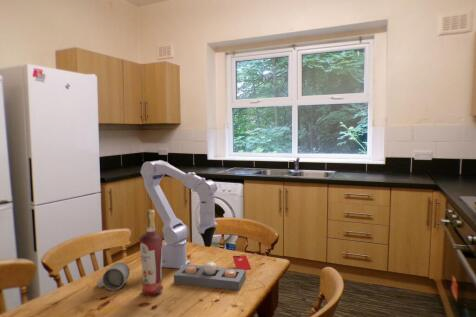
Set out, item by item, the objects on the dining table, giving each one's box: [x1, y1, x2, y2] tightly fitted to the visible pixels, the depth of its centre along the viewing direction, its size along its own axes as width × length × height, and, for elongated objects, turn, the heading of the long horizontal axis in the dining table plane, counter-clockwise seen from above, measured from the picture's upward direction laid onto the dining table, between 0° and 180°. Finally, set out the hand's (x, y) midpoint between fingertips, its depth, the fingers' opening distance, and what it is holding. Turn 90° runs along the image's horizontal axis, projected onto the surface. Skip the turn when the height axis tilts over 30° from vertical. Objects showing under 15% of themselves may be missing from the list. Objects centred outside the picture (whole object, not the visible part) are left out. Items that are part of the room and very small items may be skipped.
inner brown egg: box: [185, 266, 196, 274], centre depth 121 cm, size 4×4×3 cm
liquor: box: [139, 209, 164, 296], centre depth 110 cm, size 7×7×28 cm
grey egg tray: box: [173, 264, 247, 291], centre depth 119 cm, size 24×10×3 cm, turn 76°
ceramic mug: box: [96, 261, 130, 291], centre depth 116 cm, size 11×8×8 cm
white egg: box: [204, 261, 217, 275], centre depth 119 cm, size 4×4×3 cm
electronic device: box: [232, 254, 252, 271], centre depth 136 cm, size 6×1×15 cm
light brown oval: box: [225, 270, 236, 278], centre depth 117 cm, size 4×4×3 cm
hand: (207, 246), depth 128 cm, fingers closed
